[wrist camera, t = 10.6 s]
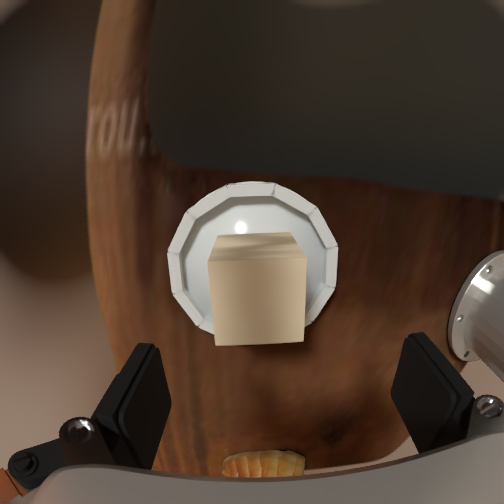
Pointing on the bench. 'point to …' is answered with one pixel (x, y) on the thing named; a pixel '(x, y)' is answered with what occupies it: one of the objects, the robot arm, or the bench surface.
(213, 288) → the maple block
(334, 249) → the dish
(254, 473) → the pastry
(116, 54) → the bench surface
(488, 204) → the bench surface
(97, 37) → the bench surface
